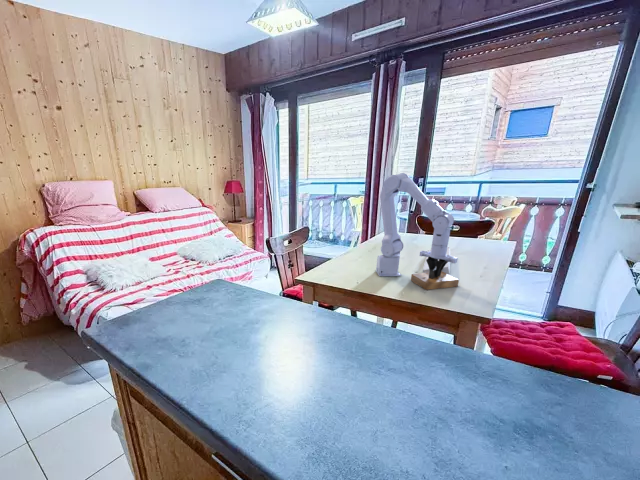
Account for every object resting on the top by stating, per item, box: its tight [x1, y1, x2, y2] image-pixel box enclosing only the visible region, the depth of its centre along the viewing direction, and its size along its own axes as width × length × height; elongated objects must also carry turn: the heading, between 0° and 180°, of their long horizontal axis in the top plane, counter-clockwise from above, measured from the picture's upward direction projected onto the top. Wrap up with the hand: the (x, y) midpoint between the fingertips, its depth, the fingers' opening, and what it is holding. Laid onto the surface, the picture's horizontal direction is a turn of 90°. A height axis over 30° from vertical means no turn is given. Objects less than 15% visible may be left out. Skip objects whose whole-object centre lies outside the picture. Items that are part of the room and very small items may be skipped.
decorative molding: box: [422, 246, 451, 275], centre depth 159 cm, size 34×5×10 cm
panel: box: [410, 271, 460, 291], centre depth 138 cm, size 14×11×3 cm
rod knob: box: [429, 268, 441, 279], centre depth 136 cm, size 6×2×4 cm, turn 123°
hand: (434, 275), depth 137 cm, fingers closed on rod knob, 2 cm apart
